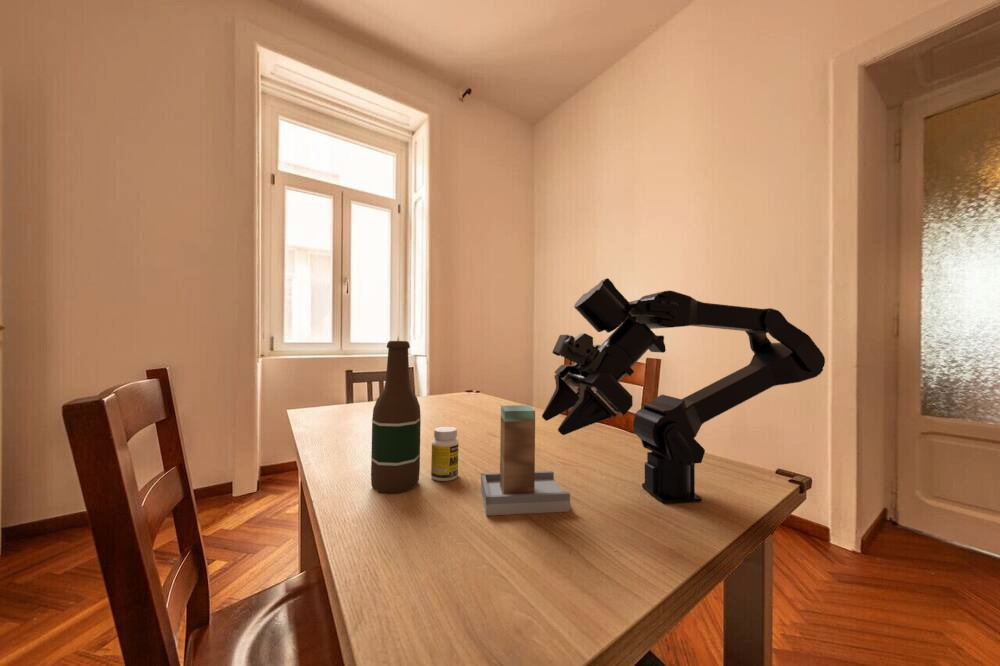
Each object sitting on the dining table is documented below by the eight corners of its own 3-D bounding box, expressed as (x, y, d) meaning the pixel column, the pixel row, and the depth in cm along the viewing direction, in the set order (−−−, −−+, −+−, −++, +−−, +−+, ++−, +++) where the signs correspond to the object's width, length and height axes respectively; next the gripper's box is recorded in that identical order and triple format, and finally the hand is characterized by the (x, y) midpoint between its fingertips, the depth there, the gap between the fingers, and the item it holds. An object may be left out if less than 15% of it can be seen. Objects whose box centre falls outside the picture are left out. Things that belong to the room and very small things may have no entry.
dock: (552, 486, 60) (552, 471, 60) (569, 511, 51) (570, 493, 51) (480, 489, 59) (481, 473, 59) (486, 515, 50) (486, 497, 50)
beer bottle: (417, 474, 65) (419, 341, 65) (421, 491, 57) (424, 341, 58) (371, 479, 62) (374, 340, 63) (370, 497, 55) (373, 340, 55)
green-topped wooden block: (528, 484, 57) (528, 405, 57) (534, 497, 52) (535, 410, 53) (499, 485, 56) (500, 405, 56) (503, 498, 52) (504, 411, 52)
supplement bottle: (452, 483, 61) (453, 433, 61) (426, 480, 62) (427, 431, 62) (461, 473, 66) (462, 426, 66) (437, 470, 67) (437, 425, 67)
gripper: (565, 320, 65) (505, 381, 64) (609, 312, 47) (527, 398, 45) (607, 363, 66) (549, 425, 65) (666, 371, 48) (587, 458, 46)
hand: (551, 425), depth 55 cm, fingers open, 9 cm apart
